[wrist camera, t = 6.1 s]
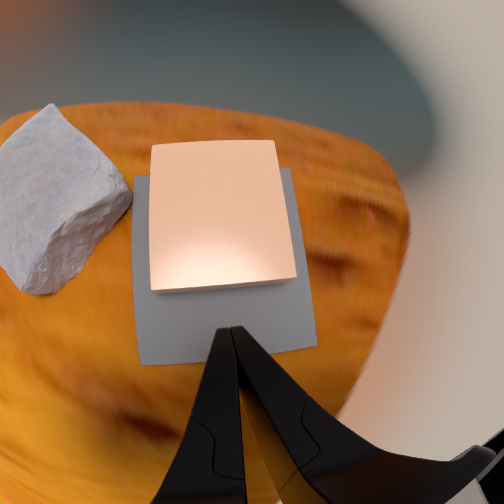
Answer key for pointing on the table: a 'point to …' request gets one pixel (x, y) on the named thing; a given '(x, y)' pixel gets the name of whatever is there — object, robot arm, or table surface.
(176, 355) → the mat
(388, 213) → the table surface
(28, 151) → the stone block
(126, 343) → the table surface
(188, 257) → the tile
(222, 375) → the robot arm
